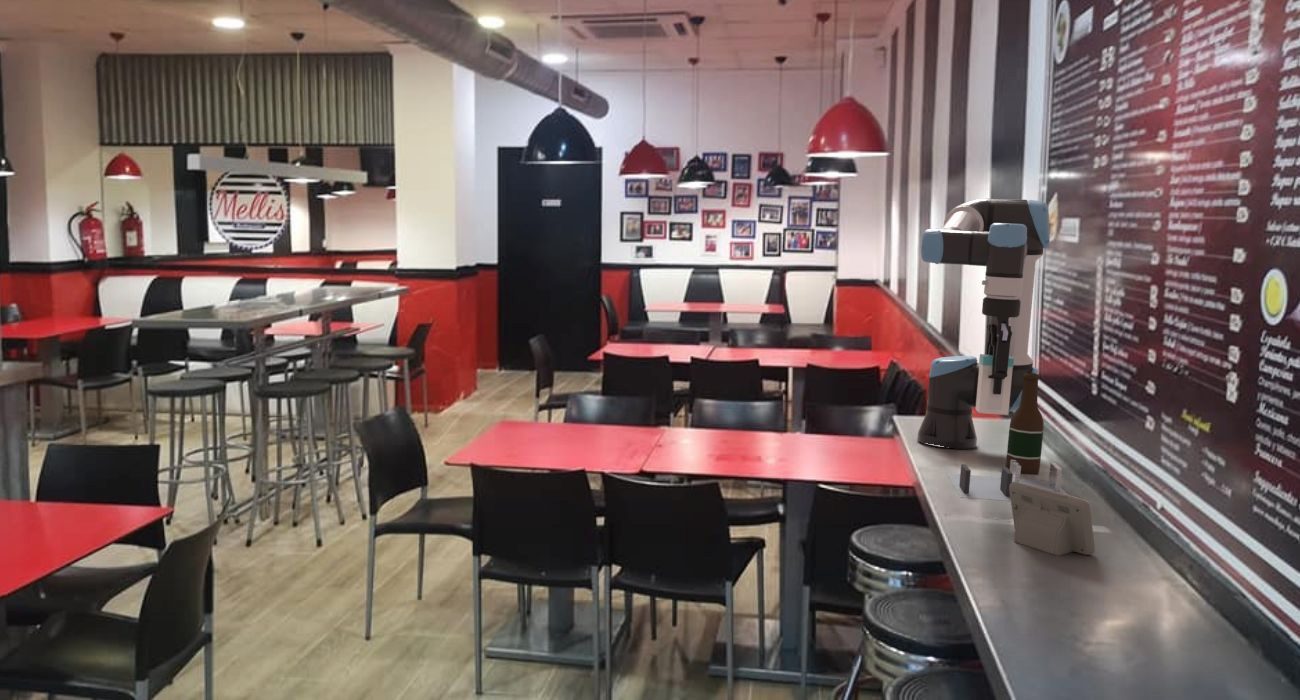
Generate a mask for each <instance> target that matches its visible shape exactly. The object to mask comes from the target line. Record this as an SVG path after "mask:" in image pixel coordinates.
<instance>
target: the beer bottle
mask: <svg viewBox="0 0 1300 700" xmlns="http://www.w3.org/2000/svg"><path fill="white" fill-rule="evenodd" d="M1023 378H1024V383H1023V389H1022V396H1021V401H1020V405H1019V408H1018V409H1017V410H1016V411H1014V412H1013V414H1012V416H1011V418H1010V423H1009V428H1008V438H1007V439H1008V440H1007V449H1006V460H1005V467H1007V468H1008V469H1009V470H1010V461H1011V460H1016V461H1017V462H1018V464H1019V465H1020V466H1021V473H1020V475H1032V476H1033V475H1034V476H1035V475H1036V476H1038V475H1039V474H1040V469H1041V468H1040V467H1041V460H1042V448H1043V439H1044V424H1045V423H1044V422H1045V421H1044V418H1043V414H1042V413H1041V411H1040V410H1039V406H1038V405H1039V403H1038V397H1039V395H1038V391H1039V380H1040V374H1035V373H1025V374H1024V376H1023Z"/></svg>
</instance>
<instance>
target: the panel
mask: <svg viewBox="0 0 1300 700" xmlns="http://www.w3.org/2000/svg"><path fill="white" fill-rule="evenodd" d="M945 474H946V476H947V478H948V479H949V481H950V483H951V484H952V486H953V487H954V488H955V491H956V492H957V494H958V496H959V497H960V498H965V499H974V500H975V499H976V500H977V499H979V500H990V501H1001V502H1011V499H1010V497H1006V496H1005V495H1004V494H1003V492H1002V491H1001V490H1000V485H1001V476H999V477H998V476H986V475H975V474H974V475H973V474H970V485H969V494H966V493H963V491H962V490H961V488H960V486H959V485H960V473H948V472H947V473H945ZM1020 483H1025V484H1029V485H1033V486H1036V487H1040V488H1044V489H1048V490H1051V491H1054V490H1053V489H1052V488H1051V487H1050V486H1049V485H1048V483H1049V480H1042V479H1041V480H1039V479H1028V478H1020ZM1055 492H1056V491H1055ZM1059 493H1063V494H1066V495H1069V493H1067V492H1066V491H1065V490H1064V489H1063V488H1062V486H1060V492H1059Z"/></svg>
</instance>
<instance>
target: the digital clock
mask: <svg viewBox="0 0 1300 700" xmlns="http://www.w3.org/2000/svg"><path fill="white" fill-rule="evenodd" d="M1009 491H1010V499H1011V501H1010V504H1011V513H1012V519H1013V526H1014V536H1013V537H1014V540H1013V541H1014V543H1016V544H1018V545H1019V544H1020V545H1023V546H1025V547H1027V548H1028V547H1029V548H1031V549H1035V550H1038V551H1040V552H1045V553H1047V554H1050V555H1054V556H1063V555H1065V554H1069V553H1072V552H1075V553H1078V554H1082V555H1086V556H1090V555H1092V554H1094V553H1095V540H1094V539H1095V538H1094V530H1093V529H1094V528H1093V521H1092V513H1091V507H1090V506H1091V505H1090V502H1089V501H1088V500H1086V499H1084V498H1080V497H1076V496H1073V495H1069V494H1068V495H1066V494H1063V493H1059V492H1055V491H1051V490H1048V489H1044V488H1040V487H1036V486H1033V485H1029V484H1025V483H1020V482H1012V483H1011V484H1010V486H1009Z"/></svg>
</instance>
